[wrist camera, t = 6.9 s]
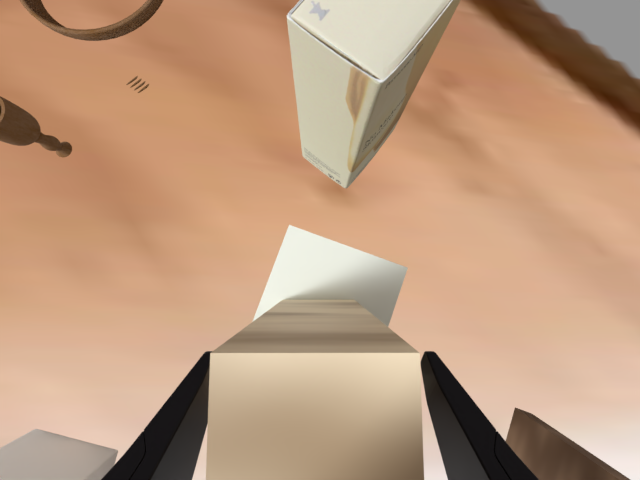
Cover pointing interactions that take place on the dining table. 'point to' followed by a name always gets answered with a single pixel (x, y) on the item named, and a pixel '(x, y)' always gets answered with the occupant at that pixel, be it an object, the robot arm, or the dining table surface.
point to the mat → (331, 275)
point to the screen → (554, 452)
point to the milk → (54, 458)
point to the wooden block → (315, 398)
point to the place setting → (16, 123)
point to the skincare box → (358, 73)
